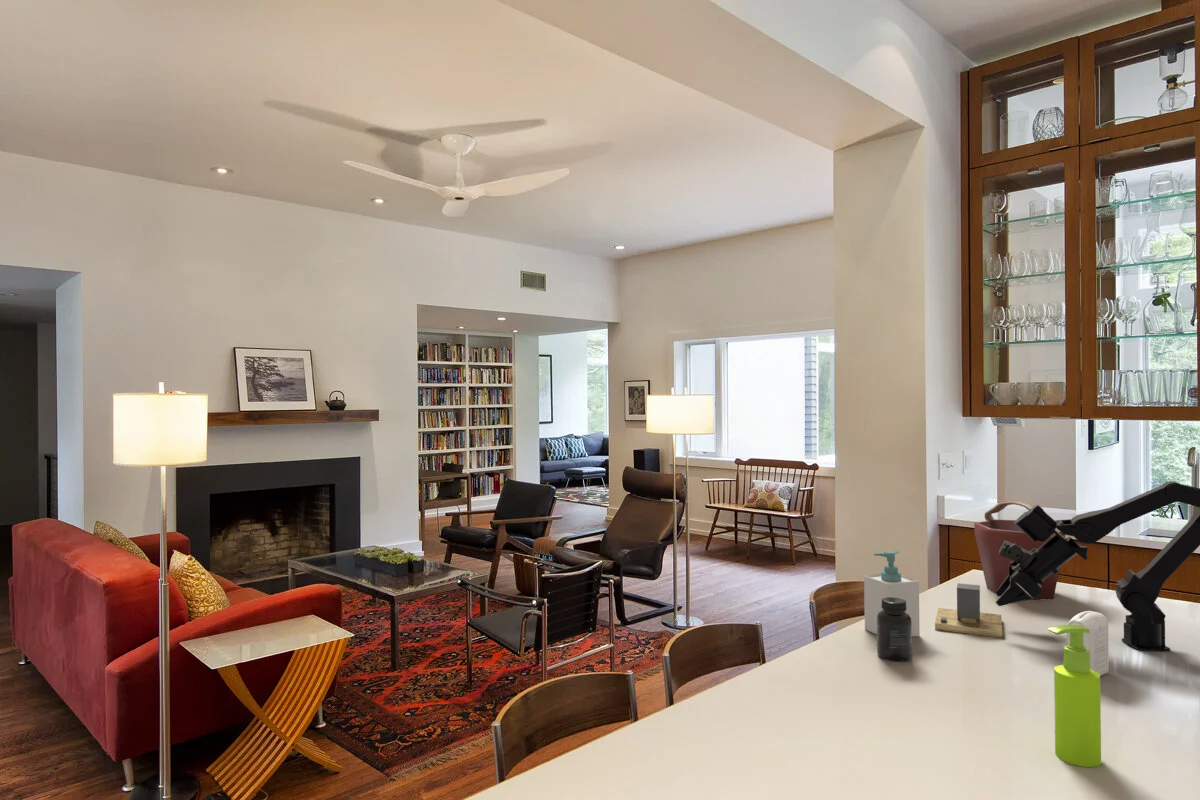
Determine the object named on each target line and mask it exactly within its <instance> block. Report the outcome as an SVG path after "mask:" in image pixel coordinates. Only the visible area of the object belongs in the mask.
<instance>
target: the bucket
mask: <svg viewBox="0 0 1200 800" xmlns="http://www.w3.org/2000/svg"><path fill="white" fill-rule="evenodd" d="M1010 505H1016V506H1017V505H1018V506H1020V507H1023V508H1025V509H1026V510H1027V511H1029V510H1030V509H1032V508H1034V507H1035V506H1036V505H1034V504H1032V503H1029V502H1024V501H1002V502H998V503H997V504H995V505H994V506H993V507H991V508H989V509H988V510H986V512H984V514H983V515H984V520H982V521H976V522H974V536H975V541H976V545H977V550H978V555H979V559H980V563H981V567H982V571H983V576H984V582H985V585H986V589H987V590H989V591H990V592H992V593H994V594H995V593H996V591H997V590H998V588H999V587H1000V586H1001V584H1002V583H1003V582H1004V580H1005V579H1006V578H1007V576H1008V575H1009V565H1011V564H1010V561H1012V560H1011V559H1009V558H1007V557H1006V558H1005V557H1003V556H1001V555H999V550H1000V548H1001V546H1002V544H1003V542H1004V540H1006V541H1009V542H1011V543H1013V544H1014V543H1015V544H1016V545H1017V546H1021V547H1022V548H1024V549H1025V550H1028V551H1031V550H1032V549H1033V548H1034V549H1038V548H1039V547H1041V546H1042V545H1043V544H1044V543H1046V542H1047V541H1048V540H1049V539H1051V538H1052V537H1053V536H1054V535H1055V533H1053V534H1052V535H1051V536H1050V537H1049V538H1048V539H1046V540H1045V541H1043V542H1041V541H1040V542H1039V541H1038V540H1037V541H1035V542H1034V541H1033V540H1032V539H1031V538H1029V537H1028V536H1027V535H1026V534H1025V533H1024V532H1023V531H1022V530H1021V529H1019V528H1018V527H1017V526H1016V525H1015V524H1014V522H1015V521H1016V520H1017V519H996V518H994V517H993V515H992V514H996V513H1000V512H1001V511H1003V510H1004V509H1005V508H1006V507H1007V506H1010ZM1055 530H1056V531H1057V532H1058V533H1060V534H1061V535H1062V536H1063V537H1064V538H1066V535H1065V534H1063V533H1062V532H1060V531H1059V530H1058V529H1057V528H1056V529H1055ZM1011 566H1012V565H1011ZM1013 566H1014V565H1013ZM1013 566H1012V567H1013ZM1060 569H1061V567H1060V568H1059V569H1058V572H1057V573H1056V574H1054V573H1052V574H1051V575H1050V576H1048V577H1047V578H1046V579H1045V580H1043V582H1044V583H1043V584H1042V585H1041V588H1042V594H1041V595H1040V596H1039V597H1037V598H1036V599H1034V598H1033V599H1031V600H1030V599H1029V600H1028V601H1035V600H1036V601H1037V600H1039V601H1041V600H1040V599H1045V600H1054V599H1055V593H1056V589H1057V583H1058V578H1059V573H1060Z"/></svg>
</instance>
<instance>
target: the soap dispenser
mask: <svg viewBox="0 0 1200 800" xmlns="http://www.w3.org/2000/svg"><path fill="white" fill-rule="evenodd" d="M1047 630H1048V631H1049V632H1051V633H1053V634H1056V635H1058V636H1059V635H1064V634H1067V633H1070V644H1068V645H1067V644H1066V645H1064V646H1063V664H1060V665H1056V666H1054V668H1053V672H1054V673H1053V674H1054V676H1053V678H1054V679H1053V682H1054V685H1053V686H1054V688H1053V689H1054V754H1055V755H1056V757H1058V759H1060V760H1062V761H1064V762H1066V763H1068V764H1071V765H1073V766H1078V767H1085V768H1092V767H1093V768H1095V767H1100V765H1101V764H1102V728H1101V727H1102V723H1101V722H1102V718H1101V715H1102V714H1101V711H1102V710H1101V706H1102V705H1101V701H1102V700H1101V676H1100V674H1099V673H1097V672H1096V671H1094V670H1091V669H1090V650H1089V649H1087V648H1086V647H1084V646H1083V633H1089V629H1088V628H1085V627H1083V626H1081V625H1068V624H1058V625H1055V626H1052V627H1049V628H1047Z"/></svg>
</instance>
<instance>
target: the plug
mask: <svg viewBox="0 0 1200 800" xmlns="http://www.w3.org/2000/svg"><path fill="white" fill-rule="evenodd" d="M980 587H981V585H980V584H979V585H978V584H968V583H961V582H958V583H957V585H956V610H957V617H961V621H967V622H976V619H978V620H980V613H981V594H980V593H981V591H980V589H981V588H980Z"/></svg>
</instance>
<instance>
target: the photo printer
mask: <svg viewBox="0 0 1200 800" xmlns="http://www.w3.org/2000/svg"><path fill="white" fill-rule="evenodd" d="M1067 625H1081V626H1083V627H1085V628H1088V629H1089V633H1083V646H1084V647H1086V648H1087V649H1089V650H1090V669H1091V670H1094V671H1096V672H1097V673H1099V674H1100V677H1101V676H1104V675H1106V674H1108V672H1109V669H1110V662H1109V661H1110V660H1109V657H1110V654H1109V653H1110V652H1109V651H1110V650H1109V649H1110V648H1109V621H1108V619H1107V617H1106V616H1105V615H1104V614H1102V613H1100V612H1098V611H1093V610H1085V611H1082V612H1080V613H1077V614H1076V615H1074V616H1073V617H1072V618H1071V619H1070V620H1069V622H1068V623H1067ZM1068 644H1070V633H1066V645H1068Z"/></svg>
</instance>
